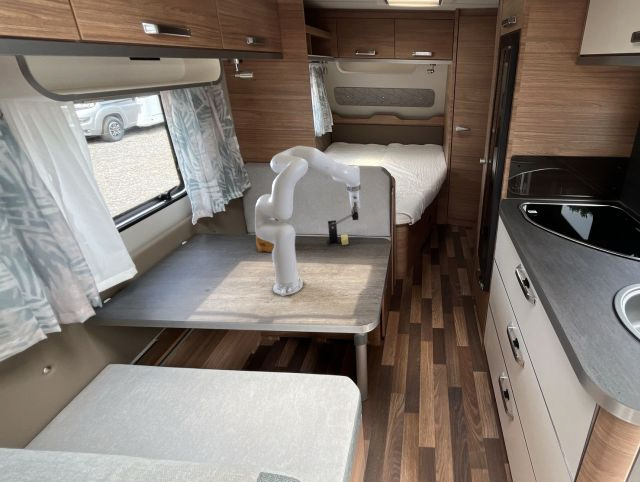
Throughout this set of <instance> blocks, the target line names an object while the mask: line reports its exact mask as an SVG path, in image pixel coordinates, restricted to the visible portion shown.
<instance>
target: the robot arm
mask: <svg viewBox="0 0 640 482" xmlns="http://www.w3.org/2000/svg"><path fill="white" fill-rule="evenodd" d="M270 168H271V170H272V171H273V172H274V173H276V174H277V176H276V177H275V178H274V180H273V182H272V186H271V193H265V194H263V195H261V196H260V197H258V199H257V201H256V203H255V208H254V233H255V236H256V235H257V237H258V238H260V239H262V240H265V241H268V242H270V243H273V244H274V248H273V251H272V252H271V259H272V264H273V272H274V278H275V283H274V284H273V287H272V291H273V293H274V294H276V295H278V296H282V297H285V296H289V295H292V294H295V293H298V292H299V291H300V290H301V289H302V288H303V286H304V281H303V279H301V278H300V277H299V270H298V264H297V263H298V262H297V253H296V235H297V234H296V230H295V228H294V226H292V225H291V224H289V223H287V222H284V221H286V220H290V218H291V217H292V215H293V211H294V193H295V188H296V184H297V183H298V181H299V180H300V179H301V178H302V177H304V176H305V174H307V172H308V169H309V168H311V169H314V170H316V171H317V172H319V173H321V174H323V175H326V176H327V177H332V179H333V180H334V181H335V182H337V183H340V184H341V183H342V184H346V185H345V186H346V187H345V188H346V192H347V193H348V198H349V199H348V200H349V205H350V208H351V214H352V217H351V218H352V221H358V220H359V210H360V209H361V198H360V197H361V196H360V192H361V170H360V166H359V165H357V164H346V163H344V162H341V161H339V160H336V159H334V158H332V157H331V156H329V155H328V154H326V153H324V152H323V151H321V150H319V149H318V148H316V147H313V146H307V145H296V146H293V147H290V148H288V149H285V150H283V151H281V152H278V153H277V154H275V155H273V156H272V159H271V160H270ZM352 212H353V213H352ZM275 219H278V221H276V220H275Z"/></svg>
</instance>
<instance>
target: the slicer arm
mask: <svg viewBox="0 0 640 482" xmlns="http://www.w3.org/2000/svg"><path fill="white" fill-rule="evenodd" d="M352 213H353V212H352V211H351V213H350V214H349V215H347V216H345V217H343V218H341V219H339V220H338V221H337V220H336V222H335V223H336V224H337V225H339V224H340V223H342V222H344V221H346V220H348V219H350V218H352ZM333 223H334V222H332V223H330V224H333Z"/></svg>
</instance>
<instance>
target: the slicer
mask: <svg viewBox="0 0 640 482" xmlns="http://www.w3.org/2000/svg"><path fill="white" fill-rule="evenodd" d="M332 222H334V223H333V224H330V223H332ZM335 222H337V220H336V219H335V220H327V226H328V244H329V245H336V244H339V238H338V228H337V226H338V224H336V223H335Z"/></svg>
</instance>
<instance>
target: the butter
mask: <svg viewBox="0 0 640 482" xmlns="http://www.w3.org/2000/svg"><path fill="white" fill-rule="evenodd" d="M340 240H341V241H340V242H341V246H344V245H349V236H348V233H342V234H340Z"/></svg>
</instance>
